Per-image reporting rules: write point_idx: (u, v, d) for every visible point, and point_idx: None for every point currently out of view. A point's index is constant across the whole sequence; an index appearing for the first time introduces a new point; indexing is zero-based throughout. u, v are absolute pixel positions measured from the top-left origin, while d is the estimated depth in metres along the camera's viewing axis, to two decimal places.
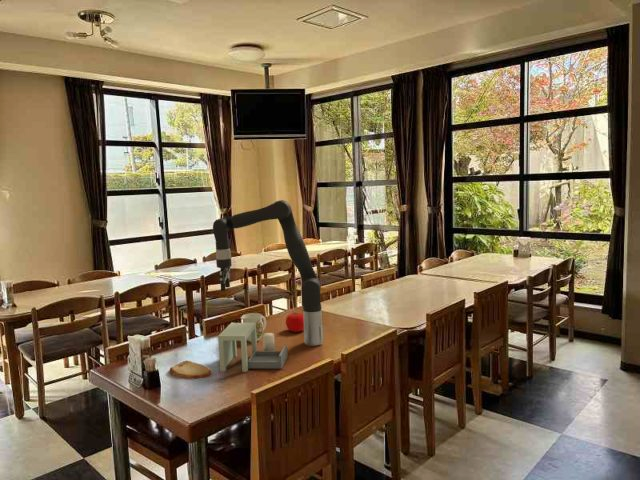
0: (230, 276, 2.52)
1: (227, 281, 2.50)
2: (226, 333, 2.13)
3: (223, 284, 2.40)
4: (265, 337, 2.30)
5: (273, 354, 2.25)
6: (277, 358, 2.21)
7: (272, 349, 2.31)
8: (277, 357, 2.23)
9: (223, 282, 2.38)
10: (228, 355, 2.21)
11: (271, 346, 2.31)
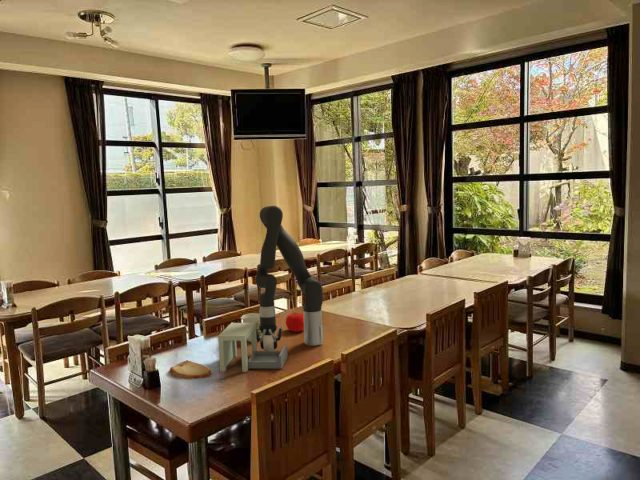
0: (258, 337, 2.34)
1: None
2: (226, 333, 2.13)
3: None
4: (265, 337, 2.30)
5: (273, 354, 2.25)
6: (277, 358, 2.21)
7: (272, 349, 2.31)
8: (277, 357, 2.23)
9: (280, 338, 2.33)
10: (228, 355, 2.21)
11: (271, 346, 2.31)
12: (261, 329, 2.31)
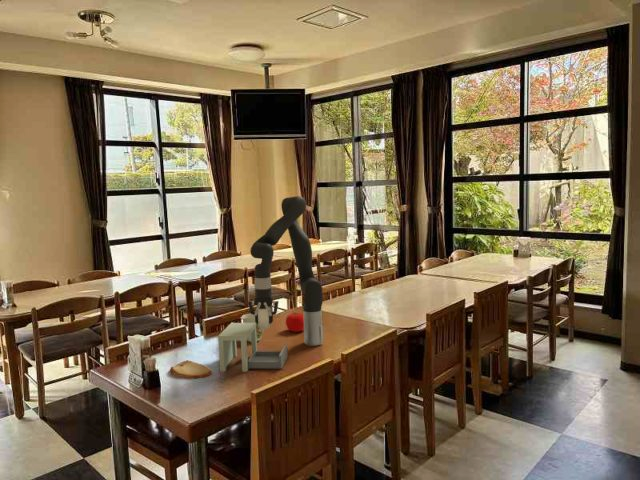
0: None
1: None
2: (226, 333, 2.13)
3: (272, 315, 2.20)
4: (260, 310, 2.17)
5: (273, 354, 2.25)
6: (277, 358, 2.21)
7: (267, 324, 2.18)
8: (277, 357, 2.23)
9: (276, 312, 2.20)
10: (228, 355, 2.21)
11: (266, 320, 2.18)
12: (256, 302, 2.18)
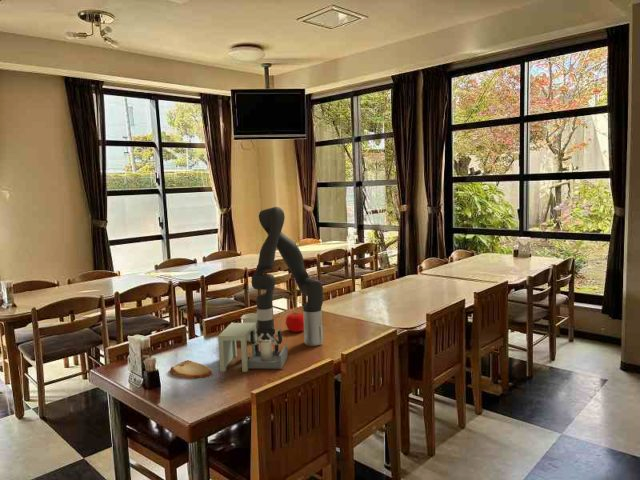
0: None
1: (258, 345, 2.19)
2: (226, 333, 2.13)
3: None
4: (262, 344, 2.16)
5: (273, 354, 2.25)
6: (277, 358, 2.21)
7: (270, 356, 2.17)
8: (277, 357, 2.23)
9: None
10: (228, 355, 2.21)
11: (269, 353, 2.17)
12: (259, 332, 2.17)
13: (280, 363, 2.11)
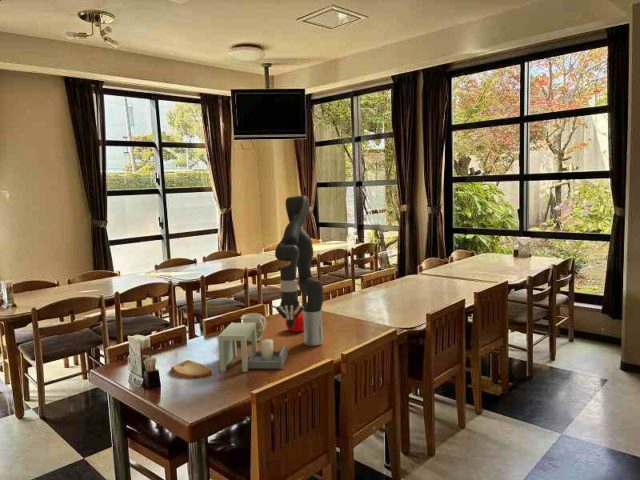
0: None
1: None
2: (226, 333, 2.13)
3: None
4: (263, 343, 2.16)
5: (273, 354, 2.25)
6: (277, 358, 2.21)
7: (270, 357, 2.17)
8: (277, 357, 2.23)
9: None
10: (228, 355, 2.21)
11: (269, 353, 2.17)
12: (282, 307, 2.15)
13: (280, 363, 2.11)
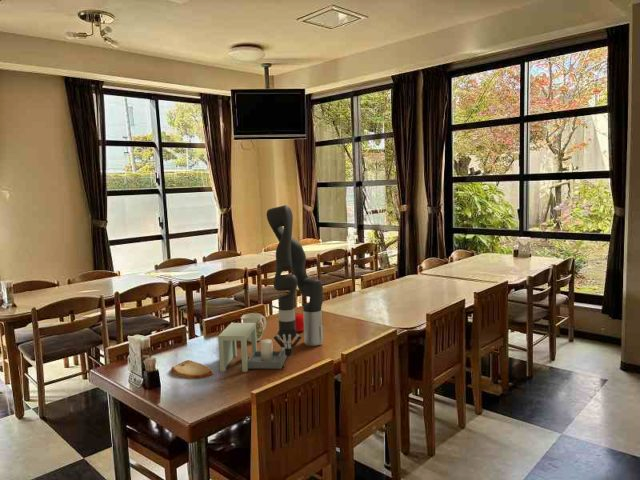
0: None
1: None
2: (226, 333, 2.13)
3: (291, 348, 2.18)
4: (262, 344, 2.16)
5: None
6: (276, 358, 2.21)
7: (269, 357, 2.17)
8: (276, 357, 2.23)
9: None
10: (228, 355, 2.21)
11: (268, 353, 2.16)
12: (280, 336, 2.16)
13: (279, 363, 2.11)
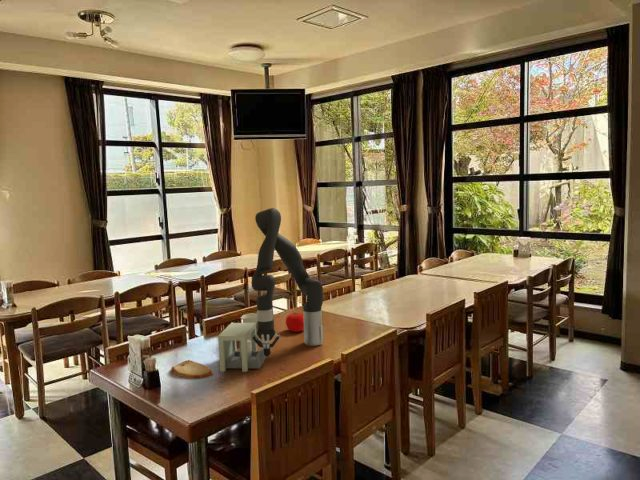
0: None
1: None
2: (226, 333, 2.13)
3: None
4: (240, 344, 2.17)
5: (252, 354, 2.26)
6: (256, 358, 2.22)
7: (247, 357, 2.18)
8: (256, 357, 2.24)
9: None
10: (228, 355, 2.21)
11: None
12: (259, 336, 2.17)
13: (258, 363, 2.12)
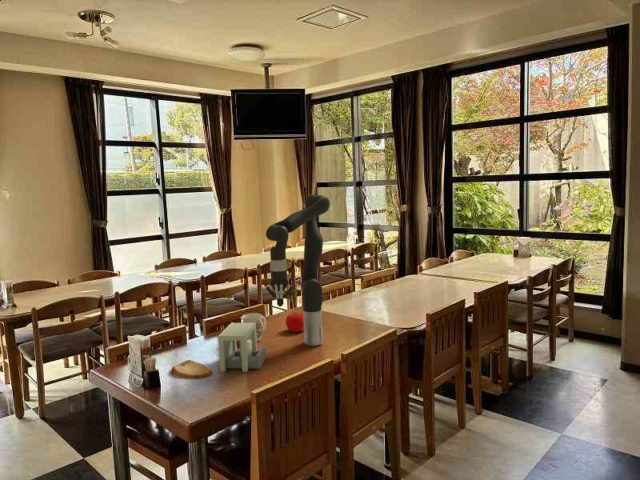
0: None
1: None
2: (226, 333, 2.13)
3: None
4: (240, 343, 2.18)
5: (252, 354, 2.26)
6: (256, 358, 2.22)
7: (247, 357, 2.18)
8: (256, 357, 2.24)
9: None
10: (228, 355, 2.21)
11: None
12: (272, 286, 2.20)
13: (258, 363, 2.12)
